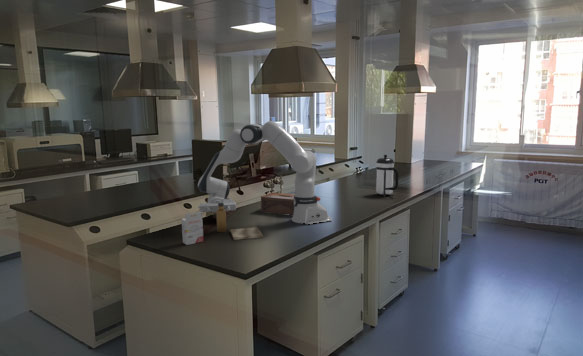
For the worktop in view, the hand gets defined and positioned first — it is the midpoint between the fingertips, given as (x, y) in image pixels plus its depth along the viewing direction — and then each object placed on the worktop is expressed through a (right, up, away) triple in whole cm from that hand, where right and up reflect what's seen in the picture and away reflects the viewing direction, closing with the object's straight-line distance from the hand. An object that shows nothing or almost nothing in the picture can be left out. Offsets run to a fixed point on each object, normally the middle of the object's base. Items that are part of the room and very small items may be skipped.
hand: (218, 210), depth 218 cm
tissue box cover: (+35, -4, +30) cm, 47 cm away
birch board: (+17, -11, -17) cm, 26 cm away
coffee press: (+109, +5, +78) cm, 134 cm away
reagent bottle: (+3, -10, -10) cm, 15 cm away
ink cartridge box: (-7, -13, -28) cm, 32 cm away
